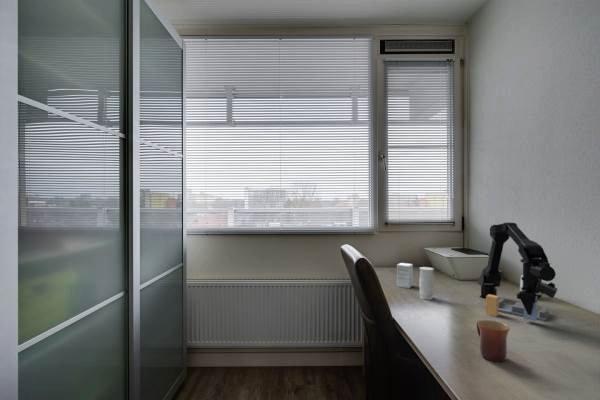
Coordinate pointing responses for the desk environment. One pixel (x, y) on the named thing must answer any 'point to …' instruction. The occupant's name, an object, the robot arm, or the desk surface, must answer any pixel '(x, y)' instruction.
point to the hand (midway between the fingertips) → (530, 313)
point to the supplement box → (404, 275)
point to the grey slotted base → (521, 310)
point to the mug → (493, 339)
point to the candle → (426, 283)
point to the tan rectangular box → (492, 305)
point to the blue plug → (534, 313)
